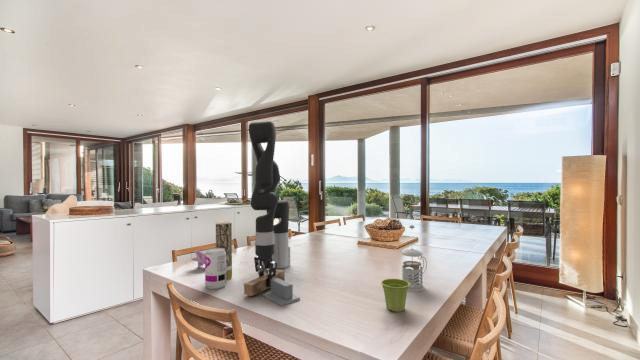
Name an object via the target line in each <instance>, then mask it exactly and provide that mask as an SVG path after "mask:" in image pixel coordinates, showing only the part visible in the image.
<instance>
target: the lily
mask: <svg viewBox="0 0 640 360" xmlns="http://www.w3.org/2000/svg"><path fill="white" fill-rule="evenodd" d="M205 253H206V252H204V253H203V252H202V251H200V250H196V249H194V254H195V256H196V257H193V258H190V261H194V262H197V267H199V266H200V267H203V266H205ZM200 267H199V268H200Z"/></svg>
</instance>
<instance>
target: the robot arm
mask: <svg viewBox="0 0 640 360" xmlns="http://www.w3.org/2000/svg"><path fill="white" fill-rule="evenodd" d="M276 131H277V130H276V126H275V123H274V122H273V121H272V120H264V121H255V122H251V123H249V125H248V136H249V138H250V139H249V140H250V143H251V146H252V149H253V152H254V155H255V159H256V166H255V174H254V180H255V181H254V182H255V184H254V187H253V190H252V191H253V192H252V195H251V197H250V206H251V208H252V210H254V211H266V214H263V215H260V216H257V217H256V218H255V235H254V236H255V237H254V242H255V243H254V245H255V247H254V249H255V250H254V251H255V253H254V254H255V256H254V257H253V260H254V261H253V263H254V269H255V272H256V273H257V275H258V277H260V276H263V275H265V274H266V287H267V288H268V289H270V288H271V279H272V277H275V276H276V270H277V269H286V268H288V267H290V266H291V247H290V245H289V243H290V242H289V223H290V222H289V221H290V204H289V201H288V200H285V199H284V200H283V199H279V198H278V195H277V193H275V191H276V189H277V187H278V186H279V184H280V181H281V175H280V170H279V165H278V164H277V162H276V161H275V160H274V157H275V149H276V137H277V132H276ZM262 144H266V148H265V149H264V147H263V146H262ZM275 219H280V222H279V223H275ZM274 223H275V224H274ZM268 273H269V275H268ZM269 287H270V288H269Z"/></svg>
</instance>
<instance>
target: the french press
mask: <svg viewBox="0 0 640 360" xmlns="http://www.w3.org/2000/svg"><path fill="white" fill-rule="evenodd" d="M409 229H415V225H413V224H411V225H409ZM401 254H402V256H405V257H411V258H416V257H417V258H418V259H419V260H420V258H421V260H422V261H423V262H422V263H423V265H422V263H421V262H420V261H416V260H415V261H414V260H405V261H403V262H402V264H403V265H402V266H401V270H402V271H401V272H402V274H401V275H402V276H401V278H402V279H401V280H405V281H407V282H409V283H410V285H409V286H408V290H407V292H423V291H425V289H426V287H425V286H424V285H423V274H424V273H425V272H426V270H427V267H428V262H427V260H426V257H425V256H424V255H423V254H424V253H423V252H421V251H420V250H418V249H414V248H409V249H408V248H407V249H405V250H402V252H401ZM419 257H420V258H419ZM424 267H425V268H424ZM423 269H424V271H423Z"/></svg>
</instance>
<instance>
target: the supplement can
mask: <svg viewBox="0 0 640 360" xmlns="http://www.w3.org/2000/svg"><path fill="white" fill-rule="evenodd" d="M204 253H205V264H204V281H205V282H204V285H205V287H206V289H209V290H218V289H223V288H225V286H226V285H227V280H226V252H225V250H224V249H223V248H216V247H214V248H213V247H212V248H209V249H206V251H205V252H204Z"/></svg>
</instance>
